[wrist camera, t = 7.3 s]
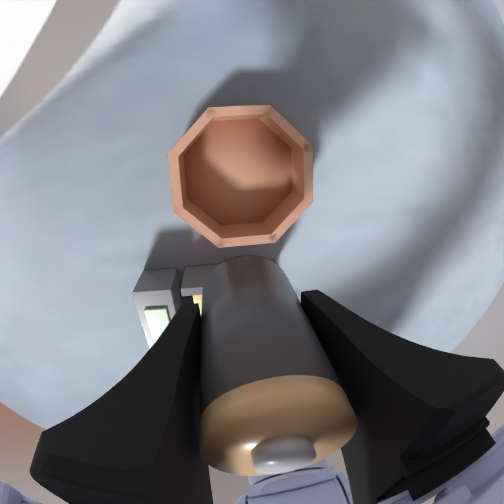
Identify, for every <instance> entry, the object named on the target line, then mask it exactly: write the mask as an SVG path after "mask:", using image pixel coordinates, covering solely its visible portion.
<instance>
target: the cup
mask: <svg viewBox="0 0 504 504" xmlns="http://www.w3.org/2000/svg"><path fill="white" fill-rule="evenodd" d="M168 159H169V170H170V180H171V190H172V199H173V207H174V211H173V212H174V214H176V215H178V216H179V217H180V218H181V219H183V220H184V221H185V222H187V223H188V224H189V225H190V226H192V227H193V228H194V229H195V230H197V231H198V232H199V233H201V234H202V235H203V236H204V237H206V238H207V239H208V240H210V241H211V242H212V243H213V244H215V245H216V246H217V247H218V248H222V247H233V246H244V245H255V244H266V243H276V241H277V240H278V239H279V238H280V237H281V236H282V235H283V234H284V233H285V231H286V230H287V229H288V228H289V227H290V226H291V225H292V224H293V223H294V222H295V221H296V220H297V219H298V218H299V216H300V215H301V214H302V213H303V212H304V211H305V210H306V209H307V208H308V207H309V206H310V205H311V204H312V203H313V144H310V143H309V142H308V141H307V140H306V139H305V138H304V137H303V136H302V135H301V134H300V133H299V132H298V131H297V130H296V129H295V128H294V127H293V126H292V125H291V124H290V123H289V122H288V121H287V120H286V119H285V118H284V117H283V116H282V115H281V114H279V113H278V112H277V111H276V110H275V109H274V108H273V107H272V105H270V104H269V105H248V106H227V107H212V108H210V107H209V108H207V110H206V111H205V112H204V113H203V114H202V115H201V117H200V118H199V119H198V120H197V121H196V122H195V123H194V124H193V125H192V127H191V128H190V129H189V130H188V131H187V132H186V133H185V135H184V136H183V137H182V138H181V139H180V140H179V142H178V143H177V144H176V145H175V146H174V148H173V149H172V150H171V151H170V152H169V153H168Z"/></svg>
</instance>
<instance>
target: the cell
mask: <svg viewBox="0 0 504 504" xmlns="http://www.w3.org/2000/svg"><path fill="white" fill-rule="evenodd" d="M199 402H200V454H201V457H202V458H203V460H204V461H205V462H206V463H207V464H208V465H210V466H211V467H213V468H215V469H218V470H220V471H223V472H227V473H231V474H237V475H248V476H261V475H272V474H280V473H286V472H290V471H294V470H297V469H300V468H303V467H306V466H309V465H311V464H314V463H316V462H318V461H321V460H322V459H324V458H326V457H328V456H330V455H331V454H333V453H335V452H336V451H337V450H339V449H340V448H341V447H343V446H344V445H345V444H346V443H347V442H348V441H349V440H350V439H351V438H352V436H353V435H354V433H355V431H356V429H357V426H358V420H357V417H356V415H355V413H354V410H353V408H352V406H351V404H350V402H349V400H348V398H347V396H346V394H345V392H344V390H343V388H342V386H341V384H340V382H339V379H338V377H337V375H336V373H335V371H334V369H333V367H332V365H331V363H330V361H329V359H328V357H327V355H326V353H325V351H324V349H323V347H322V345H321V343H320V341H319V339H318V337H317V335H316V333H315V331H314V329H313V327H312V325H311V323H310V321H309V319H308V317H307V315H306V313H305V311H304V309H303V307H302V305H301V303H300V301H299V299H298V298H297V296H296V294H295V292H294V290H293V288H292V286H291V284H290V282H289V280H288V278H287V276H286V274H285V273H284V271H283V270H282V269H281V268H280V267H279V266H278V265H277V264H275V263H274V262H272V261H270V260H268V259H266V258H263V257H259V256H239V257H235V258H231V259H229V260H227V261H225V262H223V263H221V264H220V265H218V266H217V267H216V268H215V269H214V270H213V271H212V272H211V273H210V274H209V276H208V277H207V279H206V281H205V283H204V286H203V290H202V307H201V336H200V391H199Z"/></svg>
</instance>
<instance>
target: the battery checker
mask: <svg viewBox="0 0 504 504" xmlns="http://www.w3.org/2000/svg"><path fill="white" fill-rule="evenodd" d="M268 260H270V261H272V262H274V263H275V261H274V259H268ZM275 264H276V263H275ZM218 265H220V264H212V265H202V266H191V267H185V269H184V274H183V279H182V284H181V291H180V285H179V280H178V274H177V268H168V269H157V270H145V271H143V272H142V274H141V276H140V278H139V280H138V282H137V284H136V286H135V288H134V290H133V296H134V300H135V303H136V307H137V310H138V314H139V317H140V320H141V323H142V327H143V330H144V333H145V336H146V339H147V342H148V345H149V348H151V347H152V346H153V345H154V343H155V342H156V341H157V339H158V338H159V336H160V335H161V334H162V332H163V331H164V330H165V328H166V327H167V325H168V324H169V322H170V321H171V319H172V318H173V316H174V315H175V313H176V312H177V310H178V309H179V307H180V306H181V305H183V301H182V296H191V295H202V290H203V286H204V283H205V281H206V279H207V277H208V276H209V274H210V273H211V272H212V271H213V270H214V269H215V268H216V267H217V266H218ZM181 294H182V296H181Z"/></svg>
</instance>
